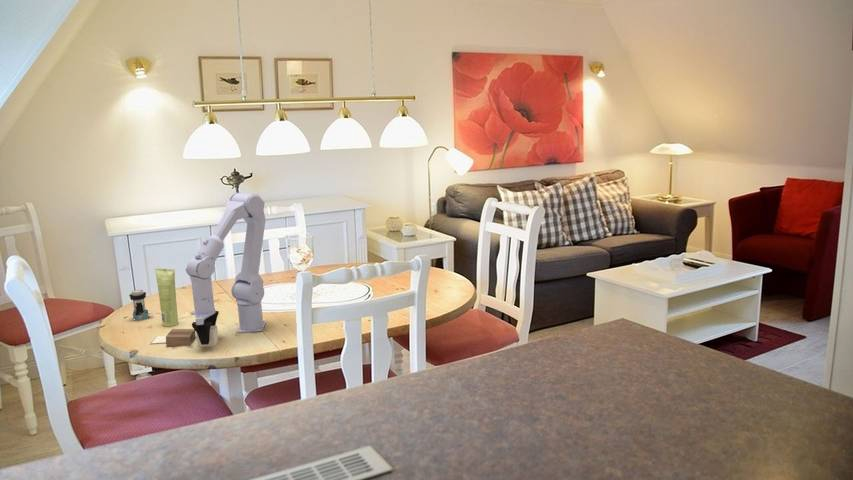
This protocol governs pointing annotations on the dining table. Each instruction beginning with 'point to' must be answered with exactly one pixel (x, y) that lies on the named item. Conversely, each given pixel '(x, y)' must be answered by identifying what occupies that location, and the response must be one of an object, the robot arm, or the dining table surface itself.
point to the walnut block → (180, 337)
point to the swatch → (159, 340)
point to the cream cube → (212, 339)
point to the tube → (167, 296)
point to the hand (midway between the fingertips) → (208, 339)
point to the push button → (139, 305)
